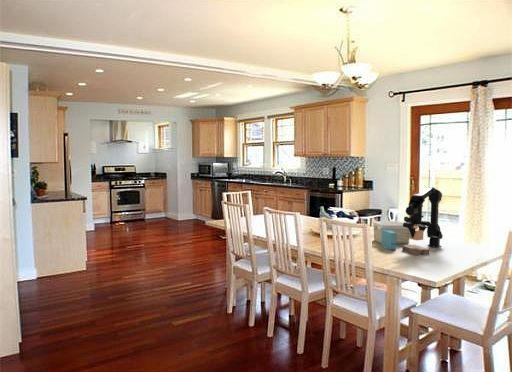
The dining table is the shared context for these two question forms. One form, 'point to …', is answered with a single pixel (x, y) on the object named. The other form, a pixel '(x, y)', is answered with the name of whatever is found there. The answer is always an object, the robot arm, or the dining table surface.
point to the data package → (389, 239)
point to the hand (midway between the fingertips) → (416, 237)
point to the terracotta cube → (417, 235)
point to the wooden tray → (416, 250)
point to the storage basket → (394, 226)
